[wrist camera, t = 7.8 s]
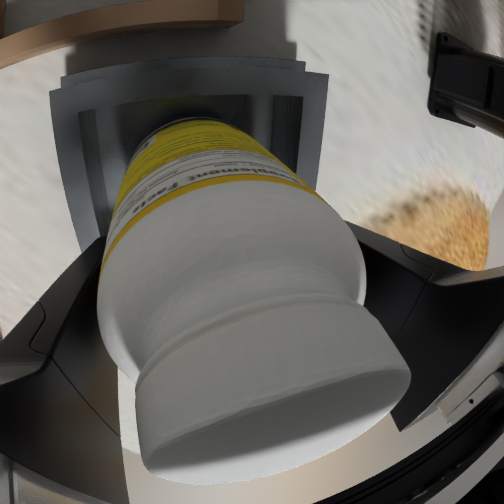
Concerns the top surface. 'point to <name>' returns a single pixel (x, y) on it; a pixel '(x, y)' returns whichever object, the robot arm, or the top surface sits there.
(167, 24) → the walnut collar
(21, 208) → the top surface
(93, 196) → the dark metal seat block
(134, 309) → the pill bottle
